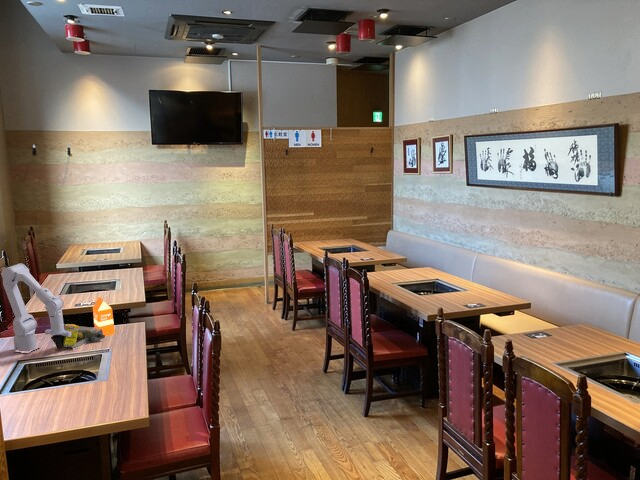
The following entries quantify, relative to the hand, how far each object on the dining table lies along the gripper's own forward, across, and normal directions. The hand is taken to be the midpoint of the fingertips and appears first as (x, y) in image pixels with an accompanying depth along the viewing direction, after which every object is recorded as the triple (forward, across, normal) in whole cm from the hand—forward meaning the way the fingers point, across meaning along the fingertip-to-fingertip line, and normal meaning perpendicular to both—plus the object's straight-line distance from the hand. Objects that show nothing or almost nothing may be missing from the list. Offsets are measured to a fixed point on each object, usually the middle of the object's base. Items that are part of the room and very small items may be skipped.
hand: (60, 348), depth 248 cm
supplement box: (+1, 0, +4) cm, 4 cm away
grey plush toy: (+2, +1, +12) cm, 12 cm away
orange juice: (+2, +5, +26) cm, 27 cm away
